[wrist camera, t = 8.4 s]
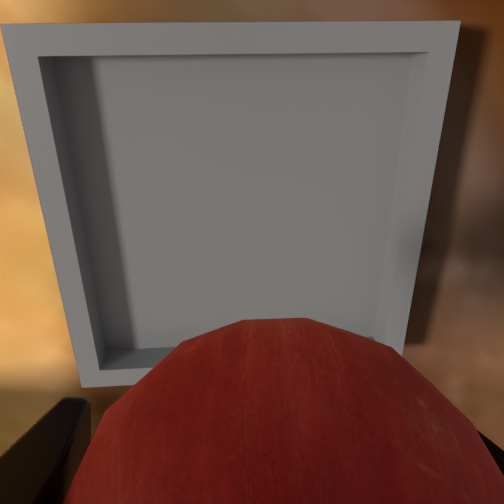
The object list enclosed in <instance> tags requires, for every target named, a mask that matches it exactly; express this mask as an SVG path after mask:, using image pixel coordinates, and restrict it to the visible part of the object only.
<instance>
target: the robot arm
mask: <svg viewBox="0 0 504 504" xmlns="http://www.w3.org/2000/svg"><path fill="white" fill-rule="evenodd" d="M476 430H477V429H476ZM477 432H478V433H479V435H480V437H481V438H482V440H483V442H484V444H485V445H486V447H487V449H488V450H489V452H490V454H491V455H492V457H493V459H494V460H495V462H496V464H497V465H498V467H499V469H500V470H501V472H502V474H503V476H504V451H503V450H502V449H501V448H499V447H498V446H497V445H496V444H494V443H493V442H492V441H490V440H489V439H488V438H487V437H485V436H484V435H483V434H482V433H480V432H479V431H478V430H477ZM90 437H91V404H90V401H89V400H88V399H87V398H75V397H64V398H62V399H61V400H59V401H58V402H57V403H56V404H55V405H54V406H53V407H52V408H51V409H50V410H49V411H48V412H47V413H46V414H45V415H43V416H42V417H41V418H40V419H39V420H38V421H37V422H36V423H35V424H34V425H33V426H32V427H31V428H30V429H29V430H28V431H27V432H26V433H24V434H23V435H22V436H21V437H20V438H19V439H18V440H17V441H16V442H15V443H14V444H13V445H12V446H11V447H10V448H9V449H8V450H7V451H5V452H4V453H3V454H2V455H1V456H0V504H63V501H64V499H65V497H66V495H67V493H68V490H69V488H70V486H71V484H72V482H73V479H74V477H75V475H76V473H77V470H78V468H79V466H80V464H81V462H82V460H83V457H84V455H85V453H86V451H87V449H88V447H89V445H90Z"/></svg>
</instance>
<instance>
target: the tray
mask: <svg viewBox="0 0 504 504" xmlns="http://www.w3.org/2000/svg"><path fill="white" fill-rule="evenodd" d="M460 23H461V21H350V22H193V23H36V24H0V27H1V31H2V36H3V40H4V45H5V49H6V53H7V58H8V62H9V67H10V71H11V76H12V80H13V85H14V89H15V93H16V98H17V102H18V107H19V111H20V116H21V120H22V125H23V129H24V133H25V138H26V142H27V147H28V151H29V156H30V160H31V165H32V169H33V173H34V178H35V182H36V187H37V191H38V196H39V200H40V205H41V209H42V213H43V218H44V222H45V227H46V231H47V236H48V240H49V245H50V249H51V253H52V258H53V262H54V267H55V271H56V276H57V280H58V285H59V289H60V293H61V298H62V302H63V307H64V311H65V316H66V320H67V325H68V329H69V333H70V338H71V342H72V347H73V351H74V356H75V360H76V364H77V369H78V373H79V378H80V382H81V387H82V388H89V387H106V386H123V385H135V384H136V383H137V382H138V381H139V380H140V379H141V378H143V377H144V376H145V375H146V374H147V373H148V372H149V371H150V370H151V369H153V368H154V367H155V366H156V365H157V364H158V363H159V362H160V361H161V360H162V359H164V358H165V357H166V356H167V355H168V354H169V353H170V352H171V351H172V350H173V349H175V348H176V347H177V346H178V345H179V344H180V343H181V342H182V341H185V340H188V339H191V338H193V337H196V336H199V335H202V334H205V333H207V332H210V331H213V330H216V329H218V328H221V327H224V326H227V325H229V324H232V323H235V322H238V321H241V320H249V319H278V318H309V319H312V320H315V321H318V322H321V323H325V324H328V325H331V326H334V327H337V328H340V329H343V330H346V331H349V332H353V333H356V334H359V335H361V336H364V337H366V338H369V339H372V340H374V341H377V342H379V343H382V344H385V345H387V346H390V347H392V348H393V349H394V350H395V351H397V352H398V353H399V354H400V355H401V356H402V353H403V347H404V341H405V336H406V330H407V324H408V319H409V313H410V307H411V302H412V296H413V290H414V284H415V279H416V273H417V267H418V262H419V256H420V250H421V245H422V239H423V233H424V228H425V222H426V216H427V211H428V205H429V199H430V194H431V188H432V182H433V177H434V171H435V165H436V159H437V154H438V148H439V142H440V137H441V131H442V125H443V120H444V114H445V108H446V103H447V97H448V91H449V86H450V80H451V74H452V69H453V63H454V57H455V52H456V46H457V40H458V34H459V29H460Z"/></svg>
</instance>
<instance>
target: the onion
mask: <svg viewBox="0 0 504 504" xmlns="http://www.w3.org/2000/svg"><path fill="white" fill-rule="evenodd" d="M63 504H504V476H503V474H502V472H501V470H500V469H499V467H498V465H497V464H496V462H495V460H494V459H493V457H492V455H491V454H490V452H489V450H488V449H487V447H486V445H485V444H484V442H483V440H482V438H481V437H480V435H479V433H478V432H477V430H476V428H475V427H474V425H473V423H472V422H471V421H470V420H469V419H468V418H467V417H466V416H465V415H464V414H463V413H462V412H460V411H459V410H458V409H457V408H456V407H455V406H454V405H453V404H452V403H451V402H450V401H449V400H448V399H447V398H446V397H445V396H444V395H443V394H442V393H441V392H440V391H439V390H438V389H437V388H436V387H435V386H434V385H433V384H432V383H430V382H429V381H428V380H427V379H426V378H425V377H424V376H423V375H422V374H421V373H420V372H418V371H417V370H416V369H415V368H414V367H413V366H412V365H411V364H410V363H409V362H407V361H406V360H405V359H404V358H403V357H402V356H401V355H400V354H399V353H398V352H397V351H395V350H394V349H393V348H392V347H390V346H387V345H385V344H382V343H379V342H377V341H374V340H372V339H369V338H366V337H364V336H361V335H359V334H356V333H353V332H349V331H346V330H343V329H340V328H337V327H334V326H331V325H328V324H325V323H321V322H318V321H315V320H312V319H309V318H278V319H249V320H241V321H238V322H235V323H232V324H229V325H227V326H224V327H221V328H218V329H216V330H213V331H210V332H207V333H205V334H202V335H199V336H196V337H193V338H191V339H188V340H185V341H182V342H181V343H180V344H179V345H178V346H177V347H176V348H175V349H173V350H172V351H171V352H170V353H169V354H168V355H167V356H166V357H165V358H164V359H162V360H161V361H160V362H159V363H158V364H157V365H156V366H155V367H154V368H153V369H151V370H150V371H149V372H148V373H147V374H146V375H145V376H144V377H143V378H141V379H140V380H139V381H138V382H137V383H136V384H135V385H134V386H133V387H131V388H130V389H129V390H128V391H127V392H126V393H125V394H124V395H123V396H121V397H120V398H119V399H118V400H117V401H116V402H115V403H114V404H112V405H111V406H110V407H109V408H108V409H107V410H106V411H105V412H104V414H103V417H102V419H101V421H100V423H99V425H98V427H97V430H96V432H95V434H94V436H93V438H92V440H91V442H90V445H89V447H88V449H87V451H86V453H85V455H84V457H83V460H82V462H81V464H80V466H79V468H78V470H77V473H76V475H75V477H74V479H73V482H72V484H71V486H70V488H69V490H68V493H67V495H66V497H65V499H64V501H63Z"/></svg>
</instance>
